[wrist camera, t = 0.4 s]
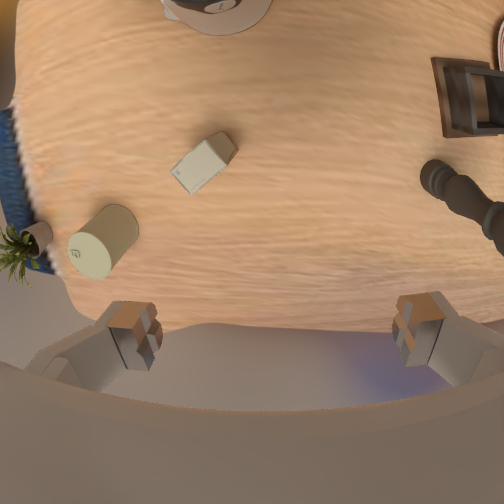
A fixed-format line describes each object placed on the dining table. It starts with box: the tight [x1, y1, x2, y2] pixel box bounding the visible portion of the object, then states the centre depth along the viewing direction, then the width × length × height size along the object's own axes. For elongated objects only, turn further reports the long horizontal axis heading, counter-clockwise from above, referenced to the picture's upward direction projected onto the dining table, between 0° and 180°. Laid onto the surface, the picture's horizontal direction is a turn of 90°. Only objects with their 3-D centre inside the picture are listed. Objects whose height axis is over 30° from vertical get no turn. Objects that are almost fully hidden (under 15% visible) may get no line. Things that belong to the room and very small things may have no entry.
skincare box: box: [169, 131, 238, 195], centre depth 39 cm, size 6×4×12 cm
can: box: [67, 205, 139, 280], centre depth 47 cm, size 9×9×12 cm
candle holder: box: [420, 160, 504, 256], centre depth 32 cm, size 6×6×25 cm
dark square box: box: [431, 58, 504, 138], centre depth 31 cm, size 14×13×8 cm
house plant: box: [0, 221, 53, 286], centre depth 47 cm, size 14×14×16 cm
